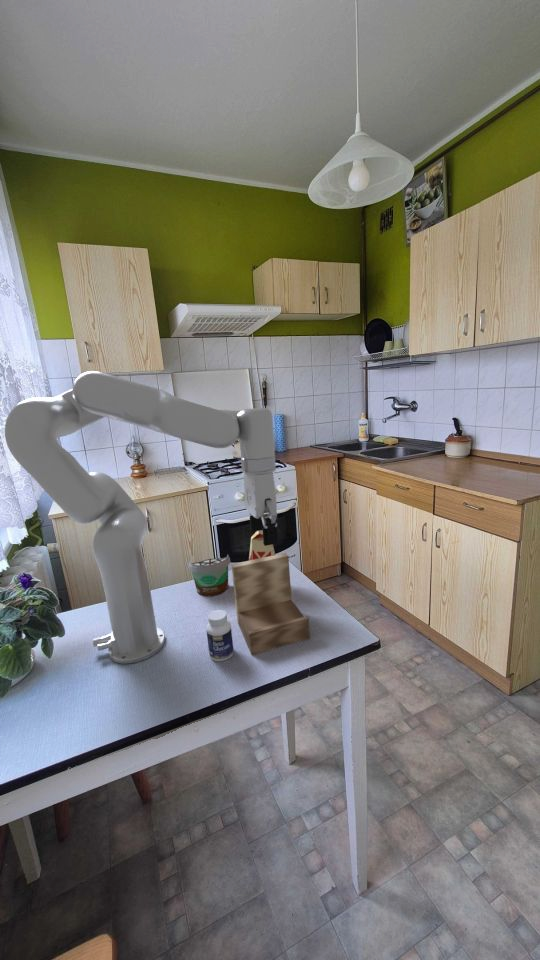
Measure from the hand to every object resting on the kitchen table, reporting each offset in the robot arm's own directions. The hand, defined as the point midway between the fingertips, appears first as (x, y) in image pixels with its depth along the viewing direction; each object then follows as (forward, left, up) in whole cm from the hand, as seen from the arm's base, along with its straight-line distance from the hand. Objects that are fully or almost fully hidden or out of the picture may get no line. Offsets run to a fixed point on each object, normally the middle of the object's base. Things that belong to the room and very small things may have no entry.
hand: (263, 537), depth 89 cm
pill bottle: (-13, -6, -23) cm, 27 cm away
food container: (-10, +22, -23) cm, 34 cm away
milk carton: (+4, +16, -23) cm, 29 cm away
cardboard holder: (0, -2, -23) cm, 23 cm away
